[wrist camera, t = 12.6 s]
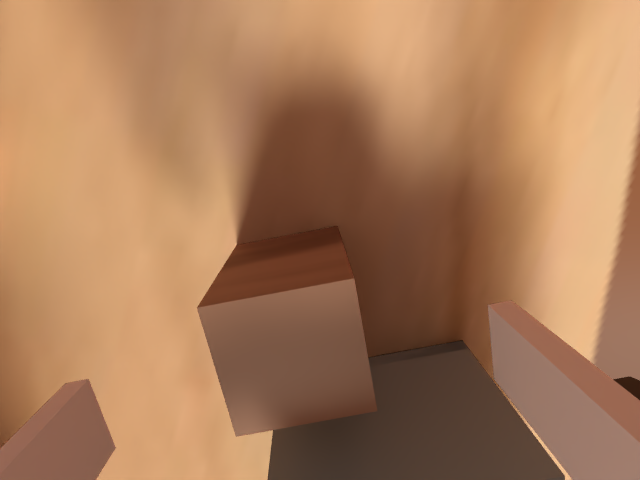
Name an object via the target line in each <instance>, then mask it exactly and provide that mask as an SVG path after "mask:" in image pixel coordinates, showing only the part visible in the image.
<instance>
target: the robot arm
mask: <svg viewBox="0 0 640 480" xmlns="http://www.w3.org/2000/svg"><path fill="white" fill-rule="evenodd" d="M488 314H489V326H490V338H491V350H492V362H493V374H494V380H495V381H496V382H497V383H498V385H499V386H500V387H501V389H502V390H503V391H504V392H505V394H506V395H507V396H508V397H509V399H510V400H511V401H512V403H513V404H514V405H515V406H516V408H517V409H518V410H519V412H520V413H521V414H522V415H523V417H524V418H525V419H526V420H527V422H528V423H529V424H530V426H531V427H532V428H533V429H534V431H535V432H536V433H537V435H538V436H539V437H540V438H541V440H542V441H543V442H544V444H545V445H546V446H547V447H548V449H549V450H550V451H551V452H552V454H553V455H554V456H555V458H556V459H557V460H558V461H559V463H560V464H561V465H562V467H563V468H564V469H565V470H566V472H567V473H568V474H569V475H570V477H571V478H572V479H573V480H640V381H639V380H637V379H635V378H632V377H624V378H619V379H612V378H610V377H609V376H608V375H607V374H605V373H604V372H603V371H601V370H600V369H599V368H598V367H596V366H595V365H594V364H592V363H591V362H590V361H589V360H587V359H586V358H585V357H584V356H582V355H581V354H580V353H578V352H577V351H576V350H575V349H573V348H572V347H571V346H569V345H568V344H567V343H566V342H564V341H563V340H562V339H560V338H559V337H558V336H557V335H555V334H554V333H553V332H552V331H550V330H549V329H548V328H546V327H545V326H544V325H543V324H541V323H540V322H539V321H537V320H536V319H535V318H534V317H532V316H531V315H530V314H528V313H527V312H526V311H525V310H523V309H522V308H521V307H519V306H518V305H517V304H516V303H514V302H513V301H512V300H510V301H505V302H499V303H494V304H489V305H488ZM115 448H116V447H115V445H114V442H113V440H112V437H111V435H110V432H109V430H108V427H107V425H106V422H105V420H104V417H103V414H102V412H101V409H100V407H99V404H98V402H97V399H96V397H95V394H94V392H93V389H92V387H91V384H90V381H89V379H86V380H80V381H75V382H70V383H65V384H64V385H63V386H62V387H61V388H60V389H59V390H58V391H57V392H56V393H55V394H54V395H53V396H52V397H51V398H50V399H49V400H48V401H47V402H46V403H45V404H44V405H43V406H42V407H41V408H40V409H39V410H38V411H37V412H36V413H35V414H34V415H33V416H32V417H31V418H30V419H29V420H28V421H27V422H26V423H25V424H24V425H23V426H22V427H21V428H20V429H19V430H18V431H17V432H16V433H15V434H14V435H13V436H12V437H11V438H10V439H9V440H8V441H7V442H6V443H5V444H4V445H3V446H2V447H1V448H0V480H96V478H97V477H98V475H99V474H100V472H101V470H102V469H103V467H104V466H105V464H106V462H107V461H108V459H109V458H110V456H111V454H112V453H113V451H114V450H115Z"/></svg>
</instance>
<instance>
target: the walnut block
mask: <svg viewBox="0 0 640 480" xmlns="http://www.w3.org/2000/svg"><path fill="white" fill-rule="evenodd" d="M197 309H198V313H199V316H200V319H201V323H202V326H203V329H204V332H205V336H206V339H207V342H208V346H209V349H210V352H211V356H212V359H213V362H214V365H215V369H216V372H217V375H218V379H219V382H220V385H221V389H222V392H223V395H224V398H225V402H226V405H227V408H228V412H229V415H230V418H231V422H232V425H233V428H234V431H235V435H236V437H237V436H242V435H248V434H253V433H259V432H264V431H270V430H275V429H281V428H287V427H292V426H298V425H303V424H309V423H314V422H320V421H325V420H331V419H336V418H342V417H347V416H353V415H359V414H364V413H370V412H375V411H377V405H376V399H375V394H374V388H373V382H372V377H371V371H370V365H369V359H368V354H367V348H366V342H365V336H364V331H363V325H362V319H361V314H360V308H359V302H358V296H357V291H356V285H355V279H354V276H353V273H352V270H351V266H350V263H349V260H348V257H347V254H346V251H345V248H344V245H343V242H342V239H341V236H340V233H339V230H338V226H334V227H329V228H323V229H318V230H313V231H308V232H302V233H297V234H292V235H287V236H281V237H276V238H271V239H266V240H261V241H255V242H250V243H245V244H240V245H236V247H235V249H234V250H233V252H232V253H231V255H230V256H229V258H228V260H227V261H226V263H225V264H224V266H223V268H222V269H221V271H220V272H219V274H218V275H217V277H216V279H215V280H214V282H213V283H212V285H211V287H210V288H209V290H208V291H207V293H206V294H205V296H204V298H203V299H202V301H201V302H200V304H199V306H198V307H197Z"/></svg>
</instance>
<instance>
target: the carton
mask: <svg viewBox="0 0 640 480" xmlns="http://www.w3.org/2000/svg"><path fill="white" fill-rule="evenodd" d="M368 359H369V365H370V371H371V377H372V382H373V388H374V394H375V399H376V405H377V411H375V412H370V413H364V414H359V415H353V416H347V417H342V418H336V419H331V420H325V421H320V422H314V423H309V424H303V425H298V426H292V427H287V428H281V429H275V430H273V436H272V445H271V454H270V463H269V472H268V480H565V476H564V474H563V473H562V472H561V470H560V469H559V468H558V466H557V465H556V464H555V462H554V461H553V460H552V458H551V457H550V456H549V455H548V453H547V452H546V451H545V449H544V448H543V447H542V445H541V444H540V443H539V441H538V440H537V439H536V437H535V436H534V435H533V433H532V432H531V431H530V429H529V428H528V427H527V425H526V424H525V423H524V421H523V420H522V419H521V417H520V416H519V415H518V413H517V412H516V411H515V409H514V408H513V407H512V405H511V404H510V403H509V401H508V400H507V399H506V397H505V396H504V395H503V394H502V392H501V391H500V390H499V388H498V387H497V386H496V384H495V383H494V382H493V380H492V379H491V378H490V376H489V375H488V374H487V372H486V371H485V370H484V368H483V367H482V366H481V364H480V363H479V362H478V360H477V359H476V358H475V356H474V355H473V354H472V352H471V351H470V350H469V348H468V347H467V346H466V344H465V343H464V342H463V340H462V341H457V342H451V343H446V344H440V345H435V346H430V347H424V348H419V349H413V350H408V351H403V352H397V353H392V354H386V355H381V356H375V357H370V358H368Z"/></svg>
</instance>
